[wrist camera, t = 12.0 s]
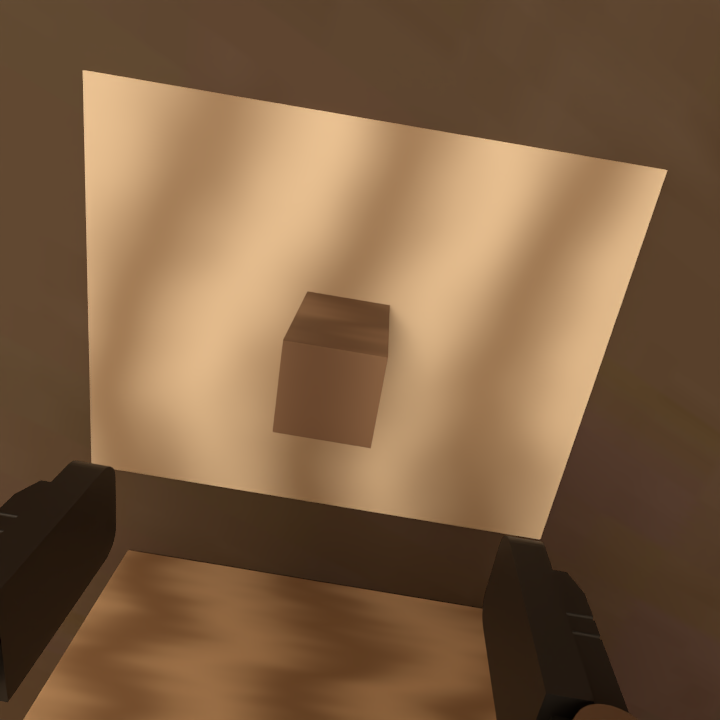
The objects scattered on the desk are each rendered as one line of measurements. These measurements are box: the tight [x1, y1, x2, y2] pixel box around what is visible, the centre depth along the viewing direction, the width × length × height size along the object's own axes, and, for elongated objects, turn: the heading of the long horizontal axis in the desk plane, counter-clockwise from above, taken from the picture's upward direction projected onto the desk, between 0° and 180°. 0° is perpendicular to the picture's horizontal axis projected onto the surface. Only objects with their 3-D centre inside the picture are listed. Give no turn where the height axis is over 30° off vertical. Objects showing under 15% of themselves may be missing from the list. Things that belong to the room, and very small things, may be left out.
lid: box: [83, 70, 667, 540], centre depth 20 cm, size 19×15×6 cm
